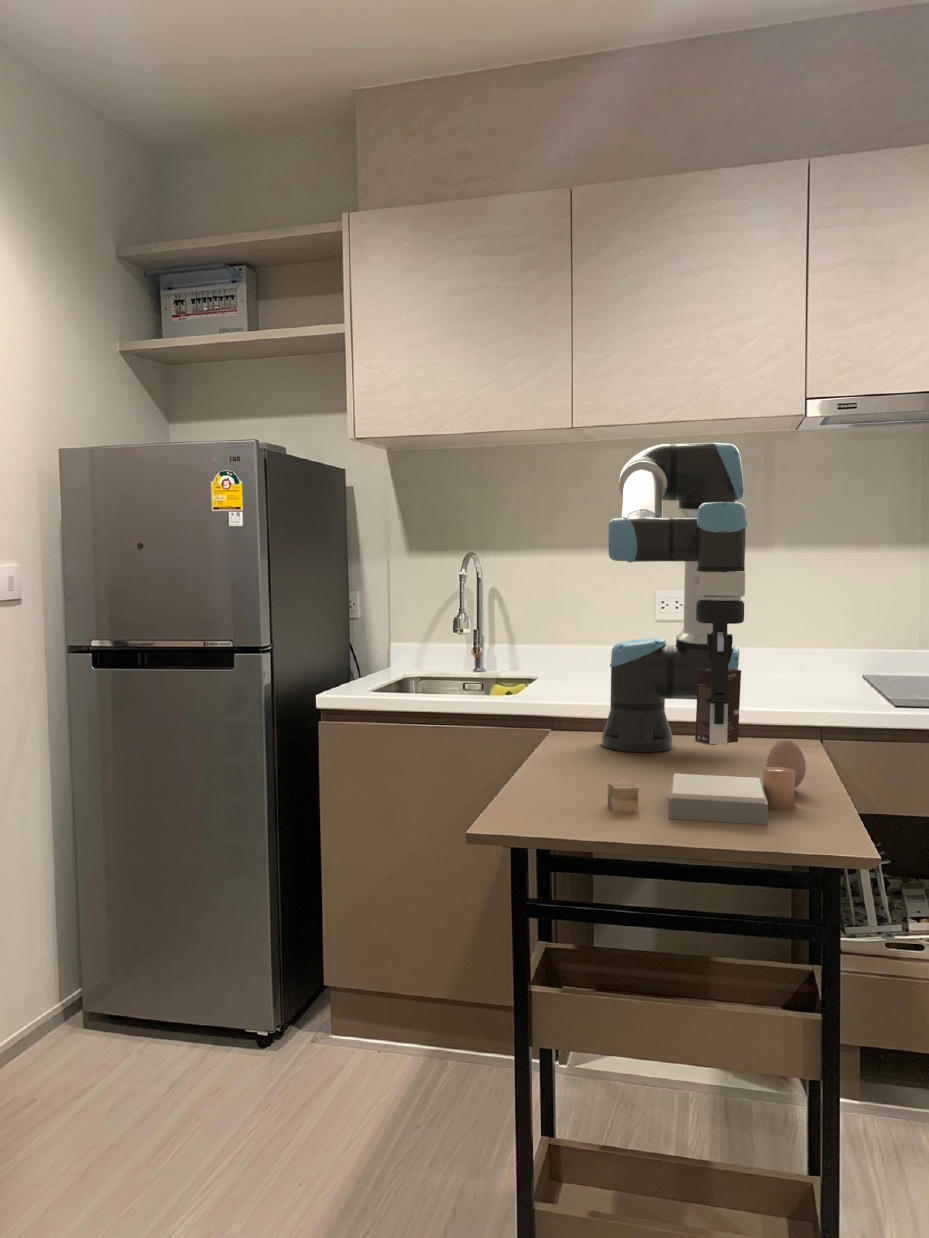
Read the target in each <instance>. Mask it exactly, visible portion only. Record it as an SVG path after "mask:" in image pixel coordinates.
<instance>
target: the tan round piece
mask: <svg viewBox="0 0 929 1238" xmlns="http://www.w3.org/2000/svg"><path fill="white" fill-rule="evenodd" d="M762 771H763V772H762V773H763V774H762V784H763V788H764V791H765V795H766V799H767V802H768V809H772V810H778V811H779V810H784V811H785V810H792V809H794V808H795V789H796V788H795V770H793V769H790V768H784V767H766V766H765V767H764V768H763V769H762Z"/></svg>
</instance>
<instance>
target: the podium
mask: <svg viewBox="0 0 929 1238" xmlns="http://www.w3.org/2000/svg"><path fill="white" fill-rule="evenodd" d="M670 778H671V779H670V786H669V793H668V812H667V814H668V815H667V816H668V820H669V819H671V820H683V821H684V820H685V821H700V822H701V821H703V822H716V823H717V822H719V823H733V824H748V825H751V824H752V825H765V826H767V825H769V824H768V823H769V820H768V819H769V808H768V802H767V799H766V795H765V791H764V788H763V781H761V779H760V777H749V776H748V777H745V776H732V775H731V776H728V775H708V774H691V773H690V774H688V773H674V775H673V777H672V776H671V777H670Z"/></svg>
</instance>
